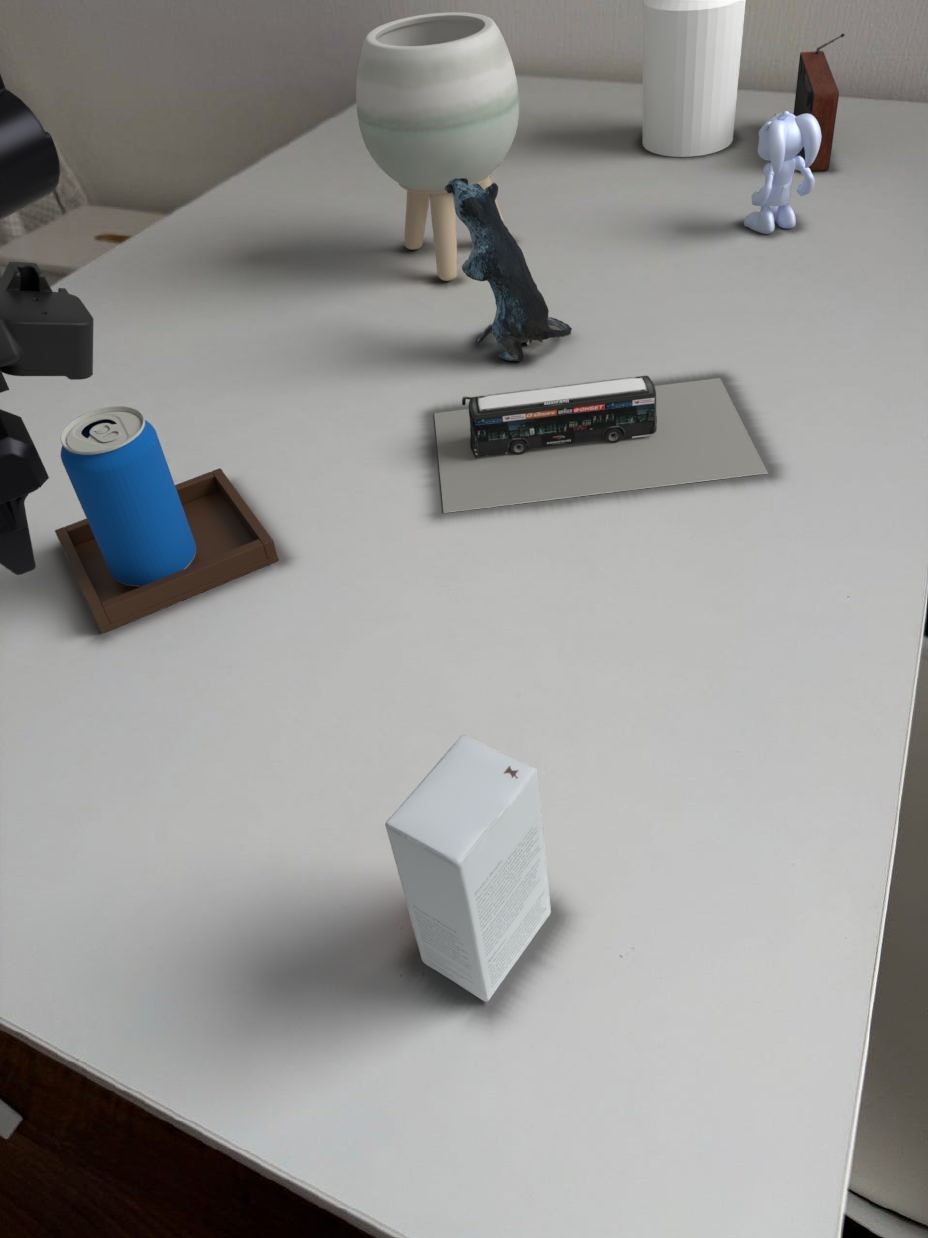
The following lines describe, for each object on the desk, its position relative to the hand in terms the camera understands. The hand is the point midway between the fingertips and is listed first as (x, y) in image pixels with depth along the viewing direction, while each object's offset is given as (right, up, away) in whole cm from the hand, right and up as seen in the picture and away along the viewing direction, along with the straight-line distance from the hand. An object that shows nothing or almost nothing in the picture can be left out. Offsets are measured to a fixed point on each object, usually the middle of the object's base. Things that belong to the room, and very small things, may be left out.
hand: (10, 529), depth 61 cm
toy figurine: (+60, +37, +51) cm, 87 cm away
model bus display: (+37, +9, +24) cm, 45 cm away
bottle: (+55, +56, +72) cm, 106 cm away
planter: (+26, +34, +53) cm, 68 cm away
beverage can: (+4, -1, +17) cm, 17 cm away
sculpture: (+32, +21, +37) cm, 53 cm away
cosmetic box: (+28, -22, -8) cm, 36 cm away
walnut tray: (+4, 0, +18) cm, 19 cm away
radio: (+69, +52, +66) cm, 108 cm away
